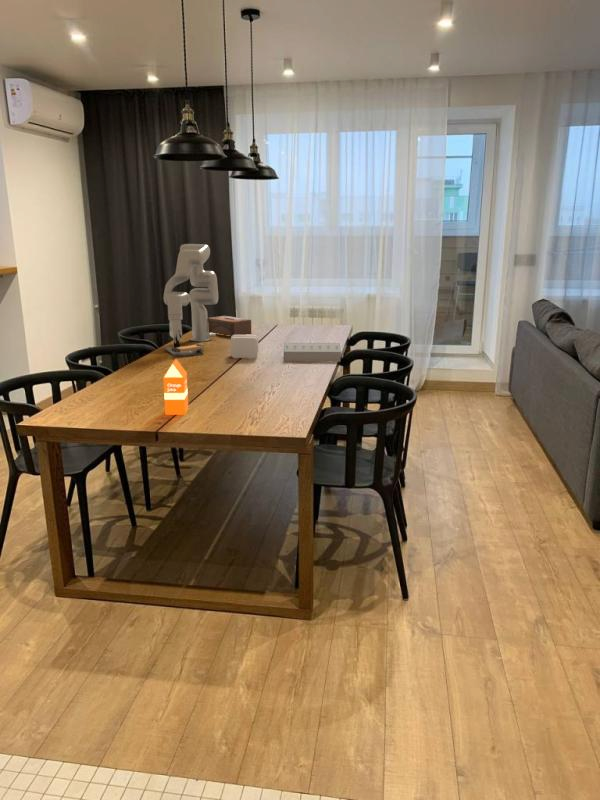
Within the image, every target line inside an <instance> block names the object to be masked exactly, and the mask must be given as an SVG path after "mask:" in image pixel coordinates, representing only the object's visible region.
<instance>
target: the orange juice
mask: <svg viewBox="0 0 600 800" xmlns="http://www.w3.org/2000/svg"><path fill="white" fill-rule="evenodd" d="M162 378H163V393H164V394H163V396H164V397H163V398H164V412H165V416H166V415H169V416H170V415H173V416H174V415H177V416H181V415H185V416H186V413H187V412H188V410H189V395H188V394H189V392H188V391H189V390H188V373H187V371H186V369H184V367H183V366H182V365H181V363H180V362H179V361H178V359H177V358H175V360H174V361H173V363H172V364H171V365H170V366H169V368H168V370H167V372H166V373H165V374H164V376H163V377H162Z"/></svg>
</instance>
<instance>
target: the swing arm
mask: <svg viewBox="0 0 600 800" xmlns="http://www.w3.org/2000/svg"><path fill="white" fill-rule="evenodd" d="M182 346H183V347H176V348H175V347H174V346H171V347H172V351H174V352H177V353H179V352H184V351H191V350H198V349H203V348H204V344H203V343H196V344H192V345H182Z"/></svg>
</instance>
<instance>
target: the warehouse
mask: <svg viewBox="0 0 600 800" xmlns="http://www.w3.org/2000/svg"><path fill="white" fill-rule="evenodd" d="M341 357H342V351H341V345H340V343H336V342H333V343H332V342H330V343H329V342H319V343H318V342H314V343H313V342H284V345H283V362H291V361H337V362H338V363H341V360H342V358H341ZM337 362H336V363H337Z"/></svg>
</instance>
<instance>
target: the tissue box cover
mask: <svg viewBox="0 0 600 800" xmlns="http://www.w3.org/2000/svg"><path fill="white" fill-rule="evenodd" d="M208 332H213V333H219V334H224V335H230V336H233V335H246V334H251V335H252V319H248V318H242V317H235V316H230V315H229V316H228V315H221V316H212V317H208ZM224 335H223V336H224Z"/></svg>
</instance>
